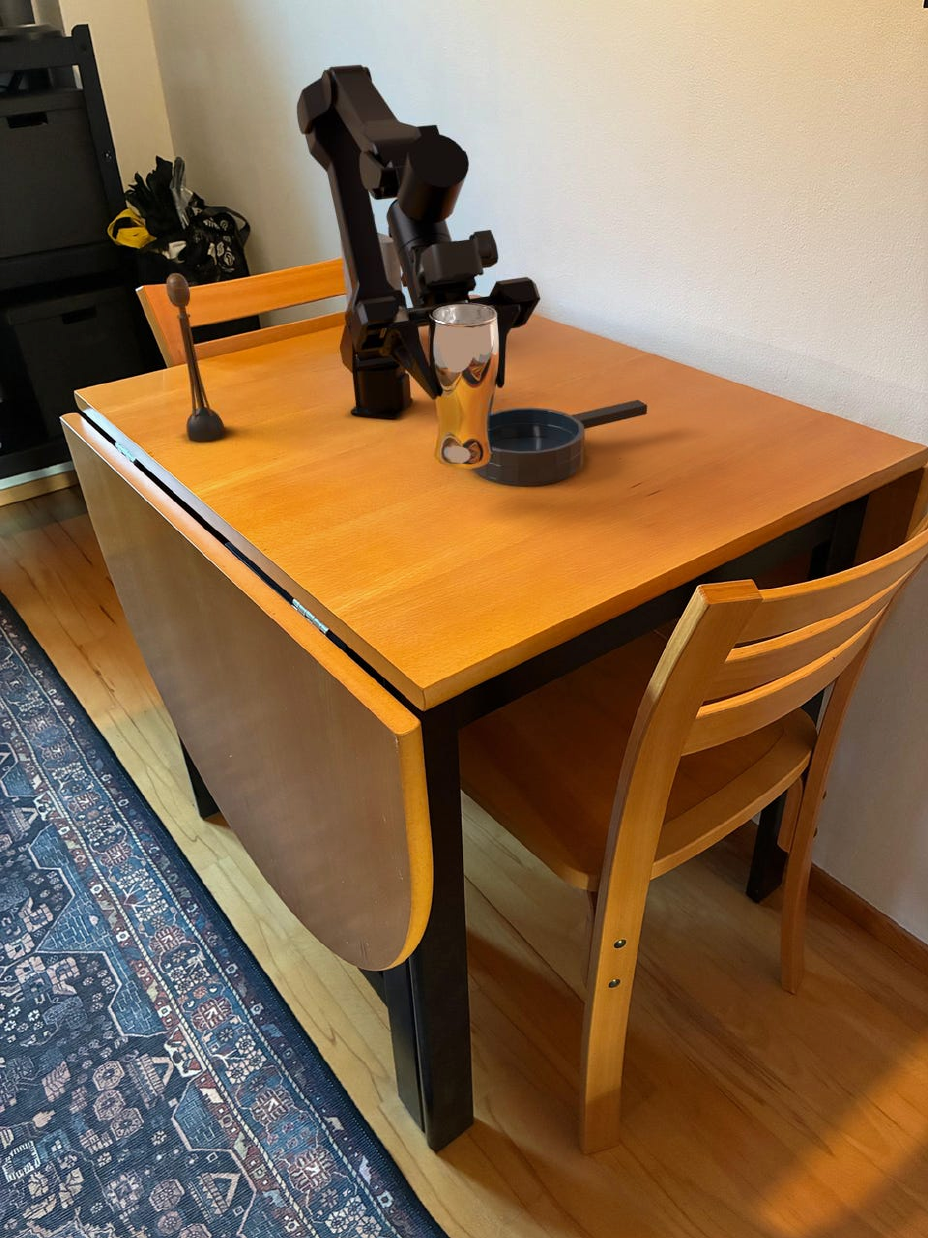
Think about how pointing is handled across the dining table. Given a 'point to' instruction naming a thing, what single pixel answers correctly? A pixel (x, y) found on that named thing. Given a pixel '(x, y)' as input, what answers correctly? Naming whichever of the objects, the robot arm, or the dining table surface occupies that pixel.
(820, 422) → the dining table surface
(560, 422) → the saucepan
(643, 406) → the saucepan handle
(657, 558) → the dining table surface
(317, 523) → the dining table surface
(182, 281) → the wooden tabletop sculpture
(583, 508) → the dining table surface
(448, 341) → the chrome pilsner tumbler
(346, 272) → the hip flask
